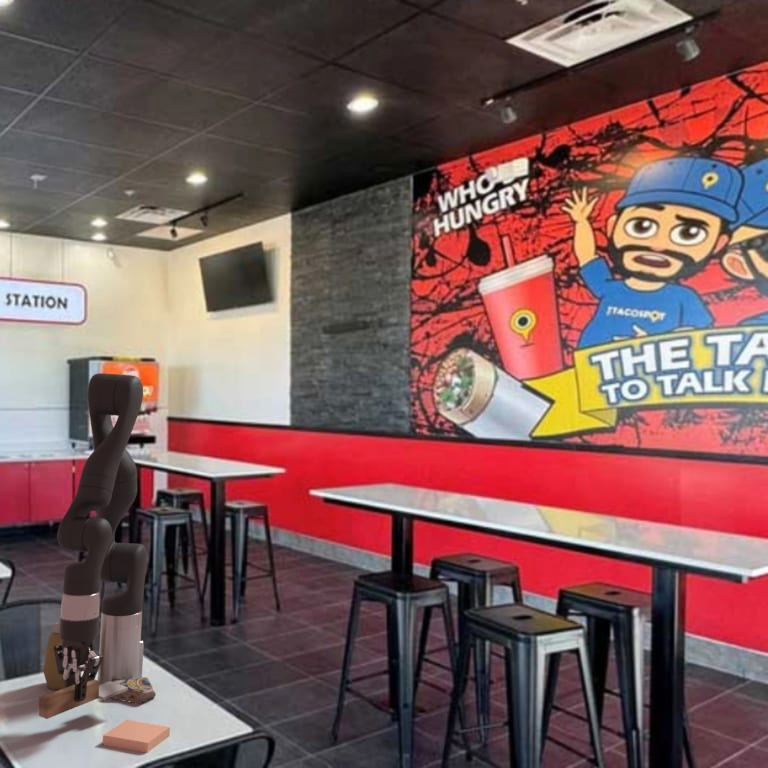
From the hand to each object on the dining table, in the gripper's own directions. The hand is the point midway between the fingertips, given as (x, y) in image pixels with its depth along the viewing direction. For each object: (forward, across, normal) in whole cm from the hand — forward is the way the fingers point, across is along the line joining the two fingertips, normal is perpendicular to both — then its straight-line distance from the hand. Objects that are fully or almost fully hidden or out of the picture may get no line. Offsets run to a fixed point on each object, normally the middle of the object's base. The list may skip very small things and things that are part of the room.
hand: (74, 698), depth 159 cm
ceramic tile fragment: (+6, +5, -19) cm, 21 cm away
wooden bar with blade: (+1, 0, -2) cm, 2 cm away
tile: (+5, -10, -3) cm, 11 cm away
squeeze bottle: (+6, +22, -12) cm, 26 cm away
